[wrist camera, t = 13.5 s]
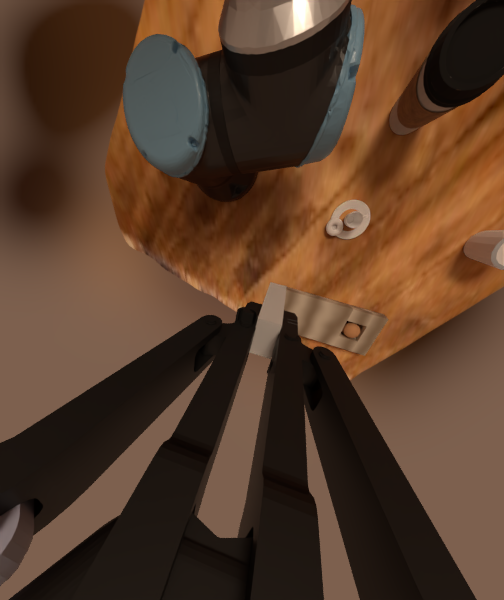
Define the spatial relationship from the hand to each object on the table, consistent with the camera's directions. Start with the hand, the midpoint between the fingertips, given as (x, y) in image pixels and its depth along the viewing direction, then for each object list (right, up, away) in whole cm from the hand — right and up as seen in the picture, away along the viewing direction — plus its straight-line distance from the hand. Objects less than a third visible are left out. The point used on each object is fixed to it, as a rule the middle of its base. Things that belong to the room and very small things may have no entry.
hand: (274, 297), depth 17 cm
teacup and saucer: (+17, +20, +24) cm, 35 cm away
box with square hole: (+17, -5, +34) cm, 38 cm away
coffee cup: (+25, +33, +15) cm, 44 cm away
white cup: (+45, +11, +20) cm, 50 cm away
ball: (+24, -8, +31) cm, 40 cm away
